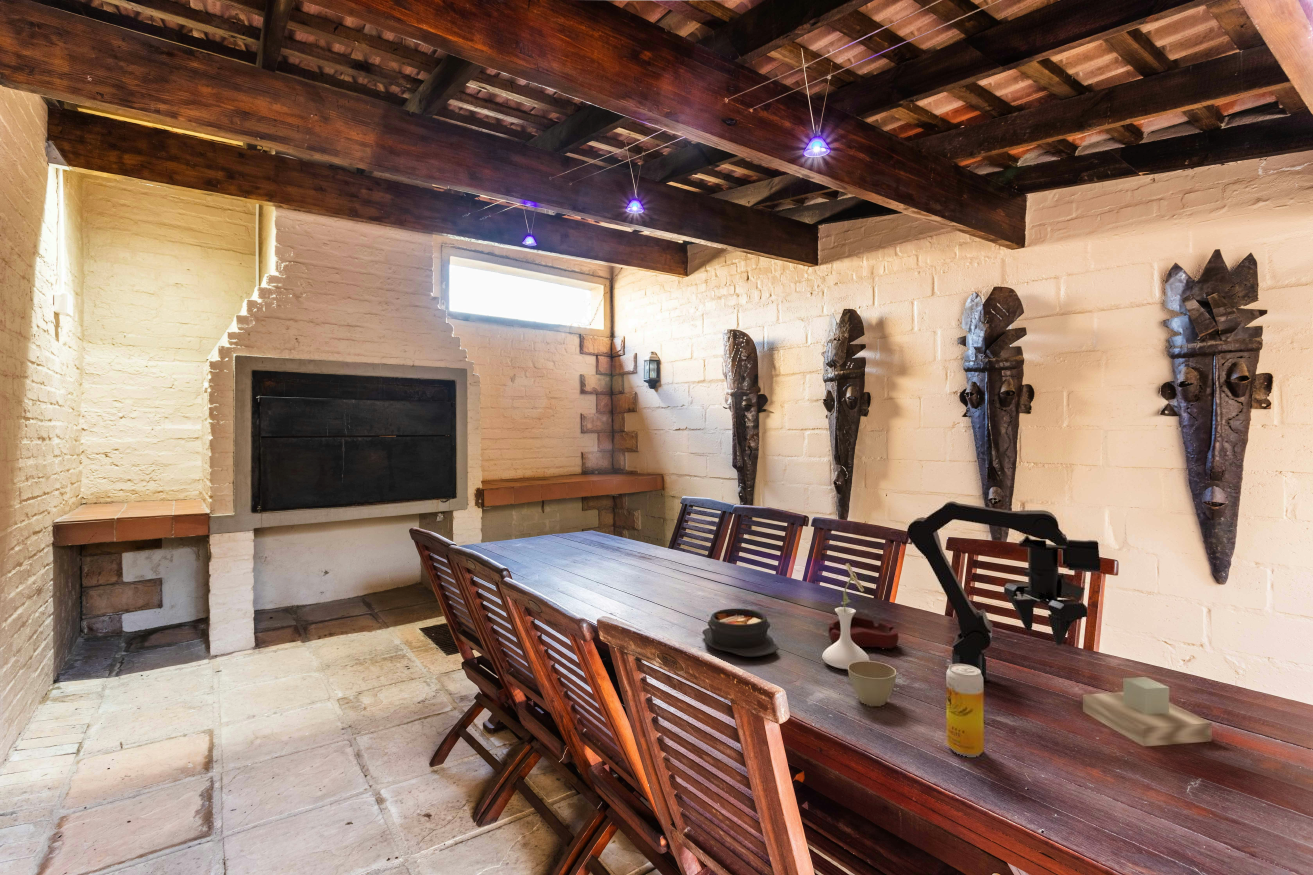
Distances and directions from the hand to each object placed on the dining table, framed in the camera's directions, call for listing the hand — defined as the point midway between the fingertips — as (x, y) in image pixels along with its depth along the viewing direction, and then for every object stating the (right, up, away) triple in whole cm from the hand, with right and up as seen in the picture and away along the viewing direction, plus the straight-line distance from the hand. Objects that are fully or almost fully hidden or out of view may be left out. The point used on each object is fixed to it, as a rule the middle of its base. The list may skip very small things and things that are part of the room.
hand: (1043, 637), depth 137 cm
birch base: (+10, -13, -16) cm, 23 cm away
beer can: (-30, -13, -24) cm, 40 cm away
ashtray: (-30, -12, +33) cm, 46 cm away
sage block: (+10, -9, -16) cm, 21 cm away
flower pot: (-40, -13, -4) cm, 42 cm away
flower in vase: (-39, -13, +17) cm, 44 cm away
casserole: (-64, -13, +31) cm, 72 cm away
